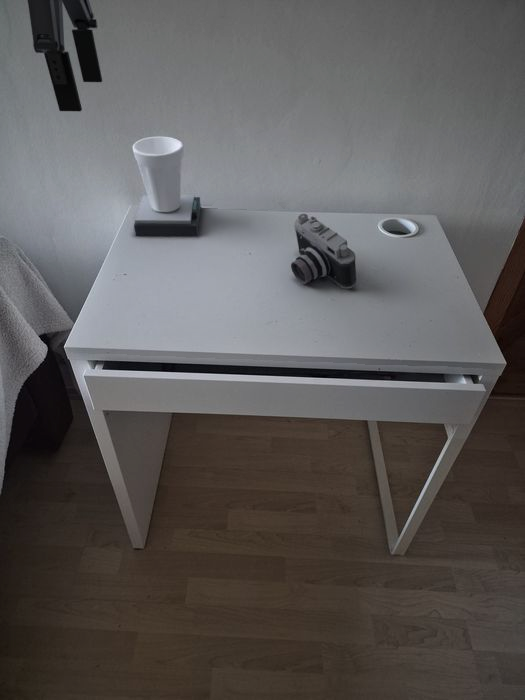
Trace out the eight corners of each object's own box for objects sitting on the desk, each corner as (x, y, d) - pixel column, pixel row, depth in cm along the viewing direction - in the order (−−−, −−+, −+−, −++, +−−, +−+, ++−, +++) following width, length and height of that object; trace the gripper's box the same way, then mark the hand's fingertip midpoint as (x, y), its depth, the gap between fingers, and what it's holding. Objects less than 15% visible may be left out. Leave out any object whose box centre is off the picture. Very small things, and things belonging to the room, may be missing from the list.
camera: (275, 266, 91) (266, 227, 83) (308, 245, 93) (302, 205, 85) (324, 308, 82) (319, 269, 74) (360, 283, 83) (358, 242, 76)
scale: (135, 235, 95) (132, 219, 92) (144, 206, 104) (142, 190, 101) (197, 236, 95) (195, 219, 93) (200, 207, 104) (199, 191, 102)
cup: (195, 212, 96) (190, 150, 87) (150, 222, 92) (139, 158, 83) (180, 193, 102) (174, 133, 93) (137, 201, 99) (126, 140, 89)
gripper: (32, -127, 40) (90, 125, 55) (92, -117, 57) (123, 72, 72) (-55, -131, 39) (27, 125, 54) (32, -120, 57) (76, 71, 72)
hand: (82, 95), depth 63 cm, fingers open, 13 cm apart
